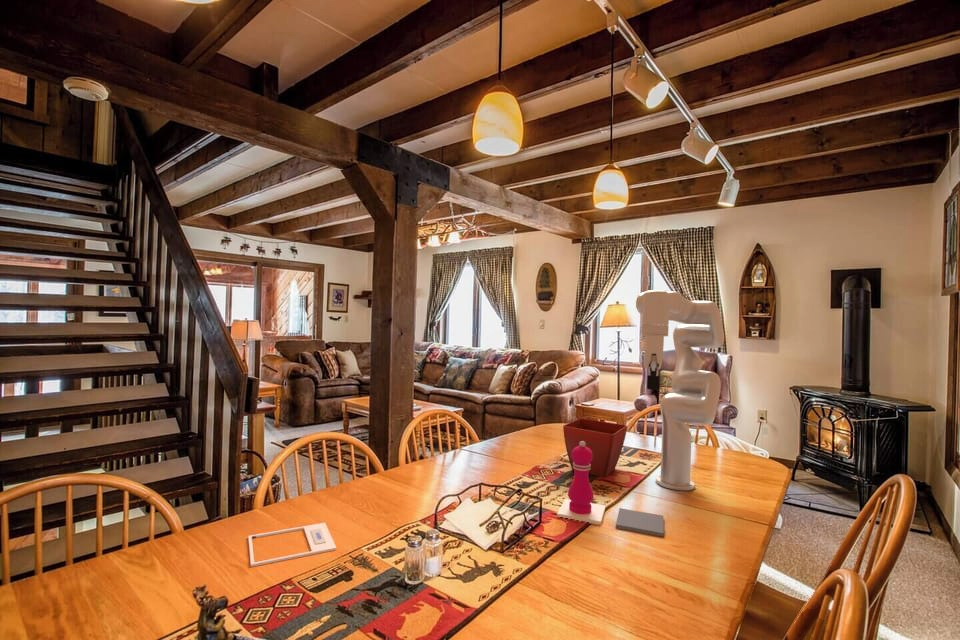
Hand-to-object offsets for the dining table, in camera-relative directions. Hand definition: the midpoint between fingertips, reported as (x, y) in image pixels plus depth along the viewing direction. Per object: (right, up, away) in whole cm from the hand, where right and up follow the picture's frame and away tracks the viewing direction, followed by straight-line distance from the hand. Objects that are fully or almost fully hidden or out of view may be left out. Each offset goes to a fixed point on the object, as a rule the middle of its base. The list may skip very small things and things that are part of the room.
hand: (653, 387), depth 141 cm
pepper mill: (-24, -35, -7) cm, 43 cm away
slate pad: (-8, -36, -12) cm, 39 cm away
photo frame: (-98, -34, -30) cm, 108 cm away
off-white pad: (-23, -36, -7) cm, 43 cm away
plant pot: (-10, -36, +33) cm, 50 cm away
